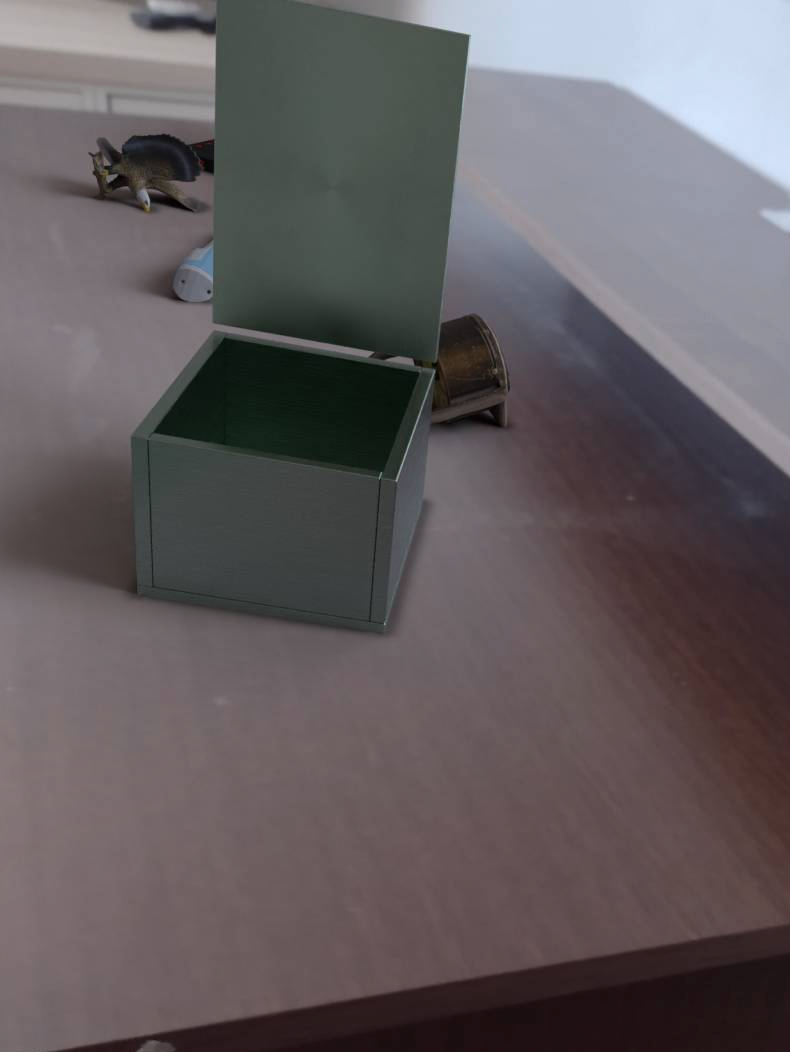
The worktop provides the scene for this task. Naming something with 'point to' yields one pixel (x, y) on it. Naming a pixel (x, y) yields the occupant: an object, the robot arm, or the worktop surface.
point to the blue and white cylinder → (195, 275)
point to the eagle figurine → (147, 167)
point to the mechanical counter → (467, 372)
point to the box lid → (334, 174)
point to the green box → (282, 481)
